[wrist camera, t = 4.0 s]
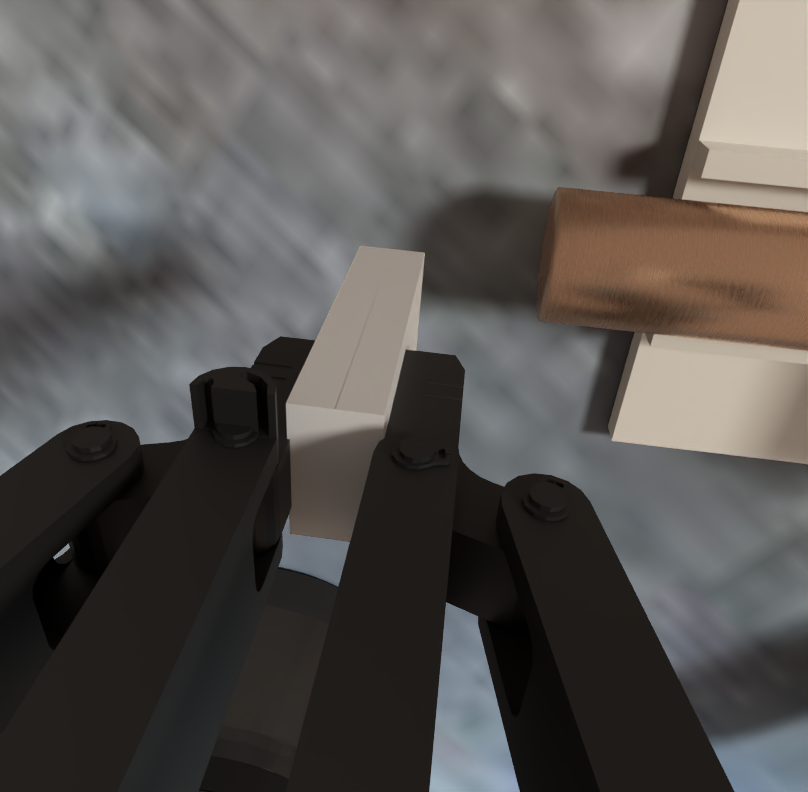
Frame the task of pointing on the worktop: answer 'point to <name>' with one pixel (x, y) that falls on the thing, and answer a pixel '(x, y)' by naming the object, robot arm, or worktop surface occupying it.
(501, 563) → the robot arm
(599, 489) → the worktop surface
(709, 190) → the board
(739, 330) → the tube
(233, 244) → the worktop surface
